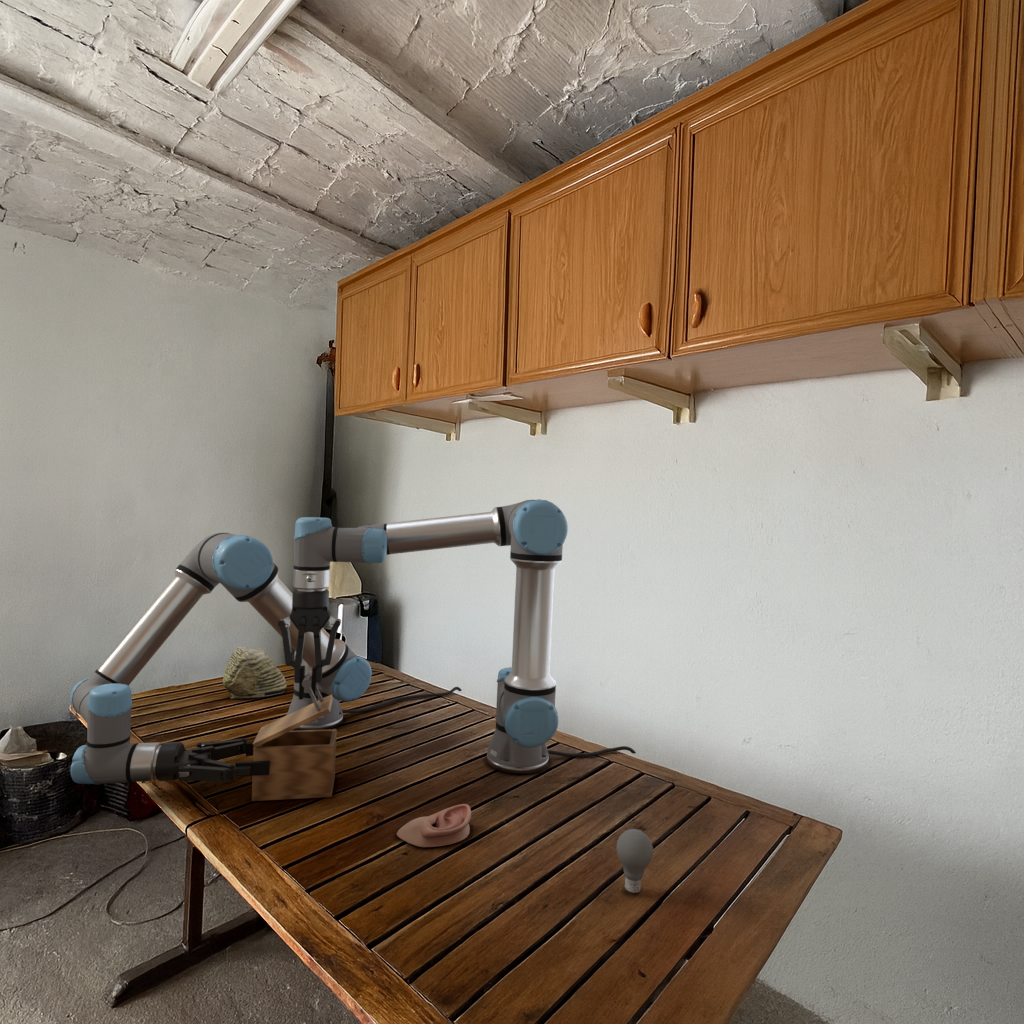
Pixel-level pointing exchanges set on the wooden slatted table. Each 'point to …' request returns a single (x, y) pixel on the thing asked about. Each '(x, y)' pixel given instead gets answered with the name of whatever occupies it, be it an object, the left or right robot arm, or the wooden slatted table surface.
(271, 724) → the lid
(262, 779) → the chest
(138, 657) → the left robot arm
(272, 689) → the fossil
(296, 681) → the right robot arm
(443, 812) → the anatomical model
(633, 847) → the light bulb
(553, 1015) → the wooden slatted table surface
